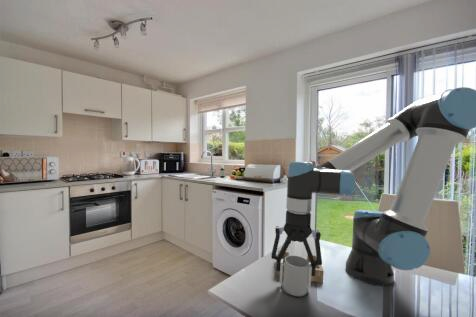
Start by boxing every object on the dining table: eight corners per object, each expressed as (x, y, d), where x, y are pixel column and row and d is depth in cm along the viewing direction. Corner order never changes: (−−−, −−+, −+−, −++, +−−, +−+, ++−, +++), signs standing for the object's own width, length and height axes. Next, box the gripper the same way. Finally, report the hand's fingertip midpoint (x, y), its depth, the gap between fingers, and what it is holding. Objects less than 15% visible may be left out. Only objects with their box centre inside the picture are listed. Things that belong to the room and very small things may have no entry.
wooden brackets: (317, 265, 87) (318, 255, 87) (322, 282, 76) (323, 270, 76) (278, 260, 90) (278, 250, 90) (277, 275, 79) (277, 264, 78)
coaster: (306, 283, 75) (306, 281, 75) (308, 298, 67) (309, 296, 67) (281, 279, 76) (281, 277, 76) (281, 293, 68) (281, 291, 68)
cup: (285, 296, 66) (287, 266, 66) (279, 276, 76) (280, 250, 76) (310, 297, 67) (312, 267, 66) (300, 277, 76) (302, 251, 76)
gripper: (331, 211, 73) (327, 281, 73) (266, 205, 77) (262, 272, 77) (336, 217, 65) (332, 295, 66) (264, 210, 69) (260, 284, 70)
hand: (294, 283), depth 72 cm, fingers open, 8 cm apart
